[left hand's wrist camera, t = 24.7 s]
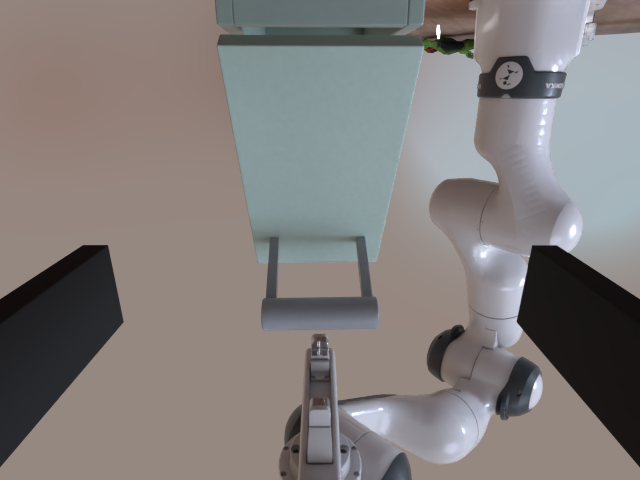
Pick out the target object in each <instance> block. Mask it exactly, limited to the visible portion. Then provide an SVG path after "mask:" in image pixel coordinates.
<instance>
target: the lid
mask: <svg viewBox="0 0 640 480" xmlns="http://www.w3.org/2000/svg"><path fill="white" fill-rule="evenodd" d="M217 50H218V56H219V61H220V66H221V71H222V76H223V82H224V87H225V92H226V98H227V103H228V108H229V114H230V119H231V124H232V129H233V135H234V140H235V145H236V151H237V156H238V161H239V167H240V172H241V177H242V182H243V188H244V193H245V198H246V203H247V209H248V214H249V219H250V225H251V230H252V235H253V240H254V246H255V251H256V256H257V262H258V263H268V274H267V289H266V298H264V299H263V301H262V309H261V322H262V329H263V331H282V330H338V329H339V330H340V329H377V328H378V323H379V308H378V302H377V299H376V297H373V294H372V286H371V278H370V270H369V262H370V261H377V257H378V252H379V248H380V243H381V239H382V234H383V230H384V225H385V221H386V216H387V211H388V207H389V203H390V198H391V194H392V189H393V185H394V180H395V176H396V171H397V167H398V162H399V158H400V153H401V149H402V144H403V140H404V135H405V131H406V126H407V122H408V117H409V113H410V108H411V104H412V99H413V95H414V90H415V86H416V81H417V77H418V72H419V68H420V63H421V59H422V54H423V50H424V45H423V42H422V40H421V37H420V36H419V35H220V36H219V40H218V43H217ZM287 262H288V263H289V262H358V268H359V278H360V288H361V297H314V298H277V288H278V267H279V263H287Z"/></svg>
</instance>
